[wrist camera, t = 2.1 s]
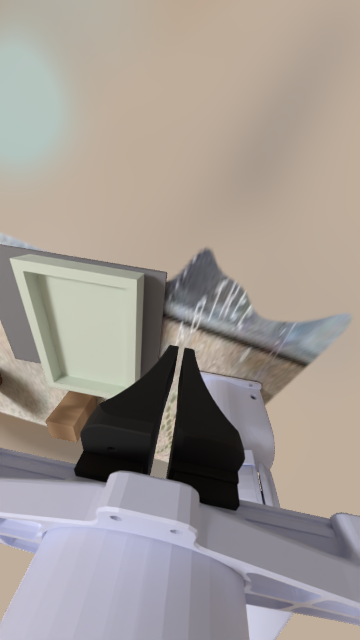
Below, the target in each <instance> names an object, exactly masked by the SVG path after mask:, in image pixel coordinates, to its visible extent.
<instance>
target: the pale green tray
mask: <svg viewBox="0 0 360 640" xmlns="http://www.w3.org/2000/svg"><path fill="white" fill-rule="evenodd" d="M9 259H10V262H11V265H12V268H13V272H14V275H15V278H16V282H17V285H18V288H19V291H20V295H21V298H22V301H23V305H24V308H25V311H26V314H27V318H28V321H29V324H30V328H31V331H32V334H33V337H34V341H35V344H36V347H37V351H38V354H39V357H40V360H41V364H42V367H43V370H44V374H45V377H46V380H47V383H48V386H49V387H54V388H59V389H64V390H70V391H75V392H80V393H85V394H90V395H95V396H100V397H105V398H112V397H113V396H115V395H117V394H119V393H120V392H122V391H123V390H125V389H126V388H128V387H129V386H131V385H132V384H134V383H135V382H136V381H137V380H139V379H140V370H141V345H142V320H143V295H144V273H140V272H134V271H128V270H122V269H116V268H110V267H105V266H99V265H93V264H87V263H81V262H75V261H69V260H63V259H57V258H51V257H45V256H39V255H33V254H27V255H23V256H18V257H13V258H9Z"/></svg>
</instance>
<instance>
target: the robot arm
mask: <svg viewBox="0 0 360 640" xmlns="http://www.w3.org/2000/svg"><path fill="white" fill-rule="evenodd" d="M178 349H179V347H178V346H173V345H170V346H168V348H167V350H166V351H165V353H164V354H163V355H162V357H161V358H160V359H159V360H158V361H157V363H156V364H155V365H154V366H153V367H152V368H151V369H150V370H149V371H148V372H147V373H146V374H145V375H143V376H142V377H141V378H140V379H139V380H137V381H136V382H135V383H134V384H132V385H131V386H129V387H128V388H126V389H125V390H123V391H122V392H120V393H119V394H117V395H115V396H113V397H112V398H110V399H108V400H106V401H104V402H102V403H100V404H99V405H98V406H97V407H96V408H95V410H94V411H93V412H92V414H91V415H90V416H89V418H88V420H87V421H86V423H85V425H84V427H83V428H82V430H81V432H80V437H81V441H82V445H83V450H84V451H83V453H82V455H81V457H80V459H79V461H78V462H77V464H73V463H69V462H64V461H60V460H55V459H50V458H46V457H41V456H36V455H32V454H27V453H22V452H18V451H13V450H8V449H4V448H0V543H1V544H5V545H8V546H11V547H14V548H17V549H21V550H24V551H27V552H30V553H34V554H35V556H34V557H33V560H32V561H31V563H30V565H29V567H28V569H27V571H26V573H25V575H24V577H23V579H22V581H21V583H20V585H19V587H18V589H17V591H16V593H15V595H14V597H13V599H12V601H11V603H10V605H9V607H8V609H7V610H6V612H5V614H4V616H3V618H2V621H1V622H0V640H276V638H277V637H278V635H279V634H280V632H281V631H282V630H283V628H284V627H285V625H286V624H287V622H288V621H289V620H290V618H291V617H292V615H293V613H297V614H303V615H309V616H314V617H319V618H325V619H330V620H335V621H340V622H344V623H349V624H354V625H359V626H360V516H357V515H352V514H348V513H336V514H334V515H332V516H331V517H330V519H328V518H324V517H319V516H314V515H310V514H305V513H300V512H296V511H291V510H286V509H282V508H280V504H279V500H278V496H277V492H276V489H275V485H274V481H273V478H272V474H271V472H270V468H271V466H272V464H273V460H274V454H275V453H274V452H275V450H274V449H275V446H274V436H273V432H272V428H271V424H270V421H269V418H268V415H267V411H266V408H265V405H264V402H263V398H262V395H261V392H260V390H261V388H262V385H261V383H259V382H254V381H248V380H243V379H238V378H232V377H227V376H222V375H217V374H211V373H206V372H201V371H200V370H199V368H198V365H197V361H196V357H195V351H194V350H193V349H189V348H185V349H184V354H183V360H182V365H181V371H180V377H179V383H178V398H177V412H176V420H175V427H174V433H173V439H172V445H171V452H170V458H169V464H168V470H167V476H166V479H164V478H159V477H154V476H150V473H151V468H152V464H153V459H154V454H155V449H156V444H157V439H158V435H159V430H160V425H161V420H162V416H163V412H164V408H165V405H166V402H167V398H168V395H169V392H170V389H171V385H172V382H173V377H174V372H175V367H176V361H177V355H178ZM249 384H251V385H249ZM257 472H259V479H260V484H261V489H262V491H261V489H260V484H259V479H258V475H257Z"/></svg>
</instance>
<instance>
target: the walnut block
mask: <svg viewBox="0 0 360 640" xmlns="http://www.w3.org/2000/svg"><path fill="white" fill-rule="evenodd" d="M96 407H97V401H96V396H95V395H90V394H85V393H80V392H75V391H69V392H68V393H67V394H66V396H65V397H64V398H63V399H62V401H61V402H60V403H59V405H58V406H57V407H56V408H55V410H54V411H53V412H52V413H51V415H50V416H49V417H48V418H47V420H46V424H47V427H48V429H49V432H50V435H51V437H54V438H58V439H63V440H68V441H73V442H77V441H78V440H79V438H80V432H81V430H82V428H83V427H84V425H85V423H86V421H87V420H88V418H89V416H90V415H91V414H92V412H93V411H94V410H95V408H96Z"/></svg>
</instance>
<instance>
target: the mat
mask: <svg viewBox="0 0 360 640" xmlns="http://www.w3.org/2000/svg"><path fill="white" fill-rule="evenodd" d="M27 254H33V255H39V256H45V257H51V258H57V259H63V260H69V261H75V262H81V263H87V264H93V265H99V266H105V267H110V268H116V269H122V270H128V271H134V272H140V273H144V295H143V320H142V345H141V370H140V378H141V377H142V376H143V375H145V374H146V373H147V372H148V371H149V370H150V369H151V368H152V367H153V366H154V365H155V364H156V363H157V361H158V359H159V349H160V339H161V329H162V319H163V309H164V299H165V289H166V279H167V272H163V271H157V270H151V269H145V268H139V267H133V266H127V265H121V264H115V263H109V262H103V261H97V260H91V259H85V258H79V257H73V256H67V255H61V254H55V253H49V252H43V251H37V250H31V249H25V248H19V247H13V246H7V245H1V244H0V320H1V323H2V325H3V328H4V331H5V333H6V336H7V338H8V341H9V343H10V346H11V349H12V351H13V354H14V356H15V359H20V360H25V361H30V362H35V363H40V364H41V360H40V357H39V354H38V351H37V347H36V344H35V341H34V337H33V334H32V331H31V328H30V324H29V321H28V318H27V314H26V311H25V308H24V305H23V301H22V298H21V295H20V291H19V288H18V285H17V282H16V278H15V275H14V272H13V268H12V265H11V262H10V259H9V258H13V257H18V256H23V255H27Z"/></svg>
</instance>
